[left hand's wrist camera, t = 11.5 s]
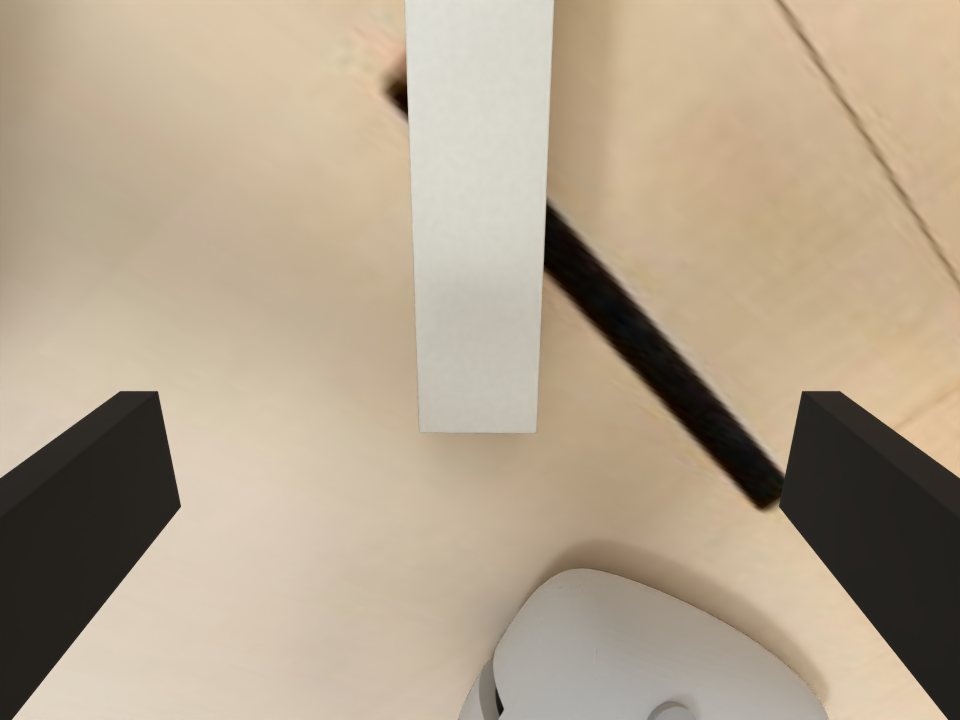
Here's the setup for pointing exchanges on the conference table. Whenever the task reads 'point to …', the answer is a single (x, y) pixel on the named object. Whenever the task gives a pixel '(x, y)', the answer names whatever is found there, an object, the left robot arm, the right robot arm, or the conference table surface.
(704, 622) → the projector
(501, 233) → the post
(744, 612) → the conference table surface
